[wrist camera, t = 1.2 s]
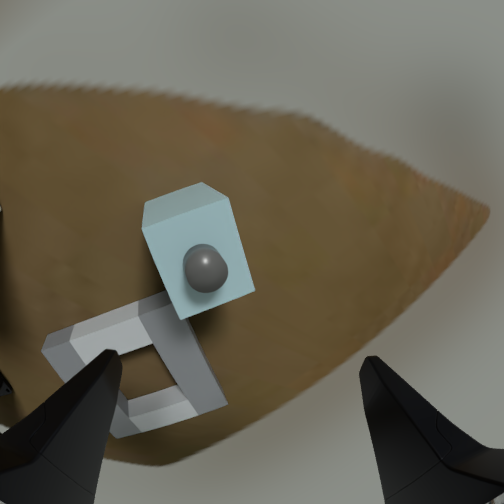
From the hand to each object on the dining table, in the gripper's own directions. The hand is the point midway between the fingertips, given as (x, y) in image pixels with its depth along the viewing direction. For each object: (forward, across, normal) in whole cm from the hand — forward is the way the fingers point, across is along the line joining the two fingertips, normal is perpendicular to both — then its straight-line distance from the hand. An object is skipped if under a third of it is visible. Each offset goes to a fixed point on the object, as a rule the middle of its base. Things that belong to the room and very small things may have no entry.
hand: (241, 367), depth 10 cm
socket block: (+10, +10, +14) cm, 20 cm away
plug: (+14, +4, +1) cm, 15 cm away
